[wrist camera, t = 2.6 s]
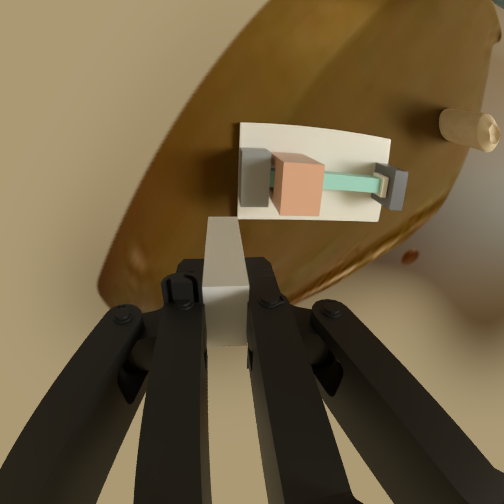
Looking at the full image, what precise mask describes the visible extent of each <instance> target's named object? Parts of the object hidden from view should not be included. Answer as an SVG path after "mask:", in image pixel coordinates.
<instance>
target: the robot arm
mask: <svg viewBox="0 0 504 504" xmlns="http://www.w3.org/2000/svg"><path fill="white" fill-rule="evenodd" d="M492 1H493V2H494V3H495V4H497V5H498V6H500V7H501V8H503V9H504V0H492ZM161 287H162V294H163V300H164V306H163V307H162V308H161V309H158V310H156V311H152V312H148V313H143V314H142V313H141V310H140V309H139V308H138V307H137V306H134V305H130V304H123V305H118V306H116V307H113V308H111V309H110V310H109V311H108V312H107V313H106V314H105V315H104V317H103V318H102V319H101V320H100V322H99V323H98V324H97V325H96V327H95V328H94V329H93V330H92V332H91V333H90V334H89V336H88V337H87V338H86V339H85V341H84V342H83V343H82V345H81V346H80V347H79V349H78V350H77V351H76V353H75V354H74V355H73V357H72V358H71V359H70V361H69V362H68V363H67V365H66V366H65V368H64V369H63V370H62V372H61V373H60V374H59V376H58V377H57V379H56V380H55V382H54V383H53V384H52V386H51V387H50V389H49V390H48V392H47V393H46V395H45V396H44V398H43V399H42V401H41V402H40V404H39V405H38V407H37V408H36V410H35V411H34V413H33V414H32V416H31V417H30V419H29V421H28V422H27V424H26V426H25V427H24V429H23V430H22V432H21V434H20V435H19V437H18V439H17V440H16V442H15V444H14V445H13V447H12V449H11V451H10V452H9V454H8V456H7V458H6V460H5V461H4V463H3V465H2V467H1V469H0V504H96V502H97V500H98V497H99V495H100V493H101V490H102V488H103V485H104V483H105V481H106V478H107V476H108V473H109V471H110V469H111V467H112V465H113V462H114V460H115V458H116V455H117V453H118V451H119V449H120V446H121V444H122V442H123V440H124V437H125V435H126V433H127V431H128V429H129V427H130V424H131V422H132V420H133V418H134V416H135V413H136V411H137V409H138V407H139V405H140V403H141V401H142V399H143V397H144V394H145V392H146V398H145V404H144V409H143V416H142V423H141V431H140V438H139V447H138V455H137V466H136V476H135V488H134V503H133V504H212V500H211V499H212V498H211V483H210V463H209V440H208V439H209V438H208V436H209V435H208V384H207V383H208V381H207V380H208V376H207V374H208V372H207V371H208V370H207V361H208V360H207V359H208V356H207V346H239V345H247V342H248V356H247V368H249V371H250V378H251V386H252V393H253V401H254V408H255V415H256V423H257V430H258V437H259V444H260V451H261V458H262V465H263V471H264V478H265V484H266V491H267V497H268V503H269V504H363V503H361V502H360V501H358V500H357V499H355V497H354V496H353V494H352V492H351V489H350V486H349V483H348V479H347V476H346V473H345V469H344V466H343V463H342V460H341V456H340V454H339V450H338V447H337V444H336V441H335V438H334V434H333V431H332V428H331V425H330V422H329V419H328V416H327V413H326V410H325V406H324V404H323V401H324V402H325V404H326V405H327V407H328V408H329V409H330V411H331V413H332V414H333V415H334V417H335V418H336V420H337V422H338V423H339V425H340V426H341V428H342V429H343V430H344V432H345V433H346V435H347V436H348V438H349V439H350V441H351V442H352V444H353V445H354V447H355V448H356V450H357V451H358V453H359V454H360V456H361V457H362V458H363V460H364V461H365V463H366V464H367V466H368V467H369V468H370V470H371V471H372V473H373V474H374V476H375V477H376V479H377V480H378V482H379V483H380V484H381V486H382V487H383V489H384V490H385V491H386V493H387V494H388V495H389V497H390V499H391V500H392V501H393V503H394V504H504V473H503V472H501V471H499V470H497V469H495V468H494V467H493V466H492V465H491V464H490V462H489V461H488V460H487V459H486V458H485V456H484V455H483V454H482V453H481V452H480V451H479V449H478V448H477V447H476V446H475V445H474V444H473V442H472V441H471V440H470V439H469V438H468V437H467V435H466V434H465V433H464V432H463V431H462V430H461V428H460V427H459V426H458V425H457V424H456V423H455V422H454V420H453V419H452V418H451V417H450V416H449V415H448V414H447V413H446V411H445V410H444V409H443V408H442V407H441V406H440V405H439V404H438V403H437V401H436V400H435V399H434V398H433V397H432V396H431V395H430V394H429V393H428V392H427V391H426V389H425V388H424V387H423V386H422V385H421V384H420V383H419V382H418V381H417V380H416V379H415V377H414V376H413V375H412V374H411V373H410V372H409V371H408V370H407V369H406V368H405V367H404V366H403V365H402V364H401V362H400V361H399V360H398V359H397V358H396V357H395V356H394V355H393V354H392V353H391V352H390V351H389V350H388V349H387V348H386V347H385V346H384V345H383V343H382V342H381V341H380V340H379V339H378V338H377V337H376V336H375V335H374V334H373V333H372V332H371V331H370V330H369V329H368V328H367V327H366V326H365V325H364V324H363V323H362V322H361V321H360V320H359V319H358V318H357V317H356V315H354V314H353V312H351V310H349V308H347V306H345V305H344V304H343V303H341V302H338V301H336V300H330V299H325V300H320V301H317V302H315V304H314V305H313V306H312V309H306V308H300V307H296V306H293V305H291V304H290V303H289V301H288V299H287V298H286V296H284V295H283V294H281V293H280V290H279V287H278V284H277V281H276V278H275V276H274V272H273V269H272V266H271V263H270V262H269V261H268V260H266V259H265V258H264V257H249V258H244V253H243V247H242V242H241V236H240V230H239V224H238V218H237V217H208V227H207V237H206V247H205V258H204V259H184V260H183V261H182V262H181V263H179V264H178V267H177V271H176V273H174V274H171V275H168V276H167V277H165V278H164V279H163V280H162V282H161ZM146 390H147V391H146ZM322 399H323V400H322Z"/></svg>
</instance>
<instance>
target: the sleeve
mask: <svg viewBox="0 0 504 504" xmlns="http://www.w3.org/2000/svg"><path fill="white" fill-rule="evenodd" d="M271 168H275V177H274V187H270V188H269V198H270V199H271V201H272V203H273V205H274V206H275V208H276V210H277V211H278V213H279V215H280V216H319V214H320V206H321V198H322V189H323V180H324V171H325V165H324V164H322V163H320V162H318V161H316V160H314V159H312V158H310V157H308V156H306V155H304V154H298V153H283V152H271Z"/></svg>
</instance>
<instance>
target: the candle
mask: <svg viewBox="0 0 504 504" xmlns="http://www.w3.org/2000/svg"><path fill="white" fill-rule="evenodd" d="M439 129H440V132H441V134H442V136H443V137H444V138H445V139H446V140H448V141H450V142H453V143H457V144H461V145H465V146H468V147H472V148H475V149H478V150H481V151H485V152H491V151H492V150H493V149H494V148H495V147H496V145H497V143H498V141H499V139H500V137H501V135H500V130H499V128H498V126H497V124H496V122H495V121H494V119H493V117H492V116H491V115H489V114H486V113H480V112H474V111H467V110H460V109H452V108H448V109H444V110H443V111H442V112H441V114H440V117H439Z"/></svg>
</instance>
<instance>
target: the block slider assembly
mask: <svg viewBox="0 0 504 504" xmlns="http://www.w3.org/2000/svg"><path fill="white" fill-rule="evenodd" d="M390 143H391V139H386V138H381V137H376V136H371V135H365V134H359V133H353V132H346V131H339V130H332V129H324V128H316V127H306V126H296V125H283V124H268V123H244V122H240V137H239V168H238V205H237V218H238V219H298V220H342V221H371V222H378V220H379V214H380V209H381V205H383V206H384V207H386V208H387V209H389V210H401V211H402V206H403V201H404V195H405V190H406V184H407V178H408V172H407V171H404V170H402V169H399V168H397V167H394V166H392V165H389V164H388V159H389V151H390ZM271 152H283V153H298V154H304V155H306V156H308V157H310V158H312V159H314V160H316V161H318V162H320V163H322V164H324V165H325V171H324V180H323V189H322V198H321V206H320V214H319V216H280V215H279V213H278V211H277V210H276V208H275V206H274V205H273V203H272V201H271V199H270V198H269V188H270V187H274V177H275V168H271Z"/></svg>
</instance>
